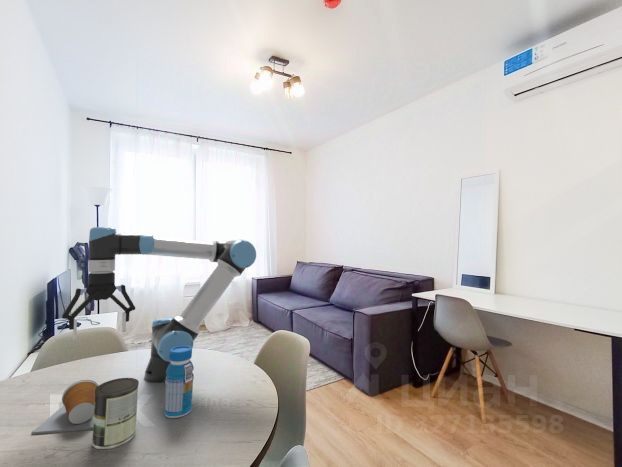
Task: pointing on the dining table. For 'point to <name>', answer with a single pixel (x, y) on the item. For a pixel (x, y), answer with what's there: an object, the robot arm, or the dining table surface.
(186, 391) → the beverage bottle
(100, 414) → the coffee can
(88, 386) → the disposable coffee cup
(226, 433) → the dining table surface
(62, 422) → the mat
